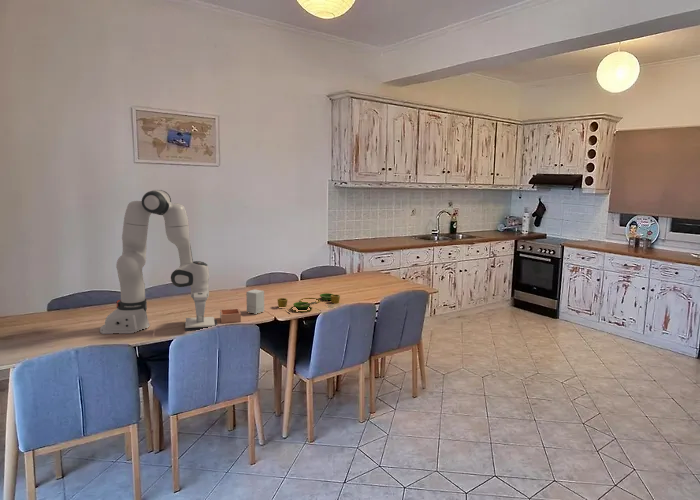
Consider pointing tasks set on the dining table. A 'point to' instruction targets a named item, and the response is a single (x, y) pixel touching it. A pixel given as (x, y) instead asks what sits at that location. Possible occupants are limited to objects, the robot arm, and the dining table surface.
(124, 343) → the dining table surface
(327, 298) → the tableware set
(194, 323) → the lid
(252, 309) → the supplement box
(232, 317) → the brown open box
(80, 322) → the dining table surface
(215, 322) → the mat
